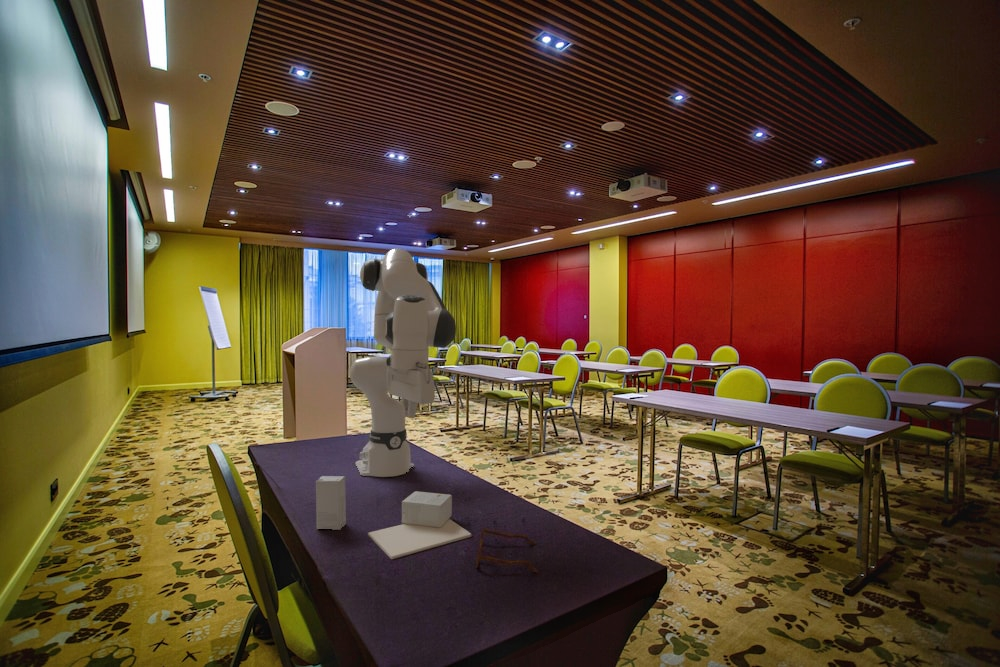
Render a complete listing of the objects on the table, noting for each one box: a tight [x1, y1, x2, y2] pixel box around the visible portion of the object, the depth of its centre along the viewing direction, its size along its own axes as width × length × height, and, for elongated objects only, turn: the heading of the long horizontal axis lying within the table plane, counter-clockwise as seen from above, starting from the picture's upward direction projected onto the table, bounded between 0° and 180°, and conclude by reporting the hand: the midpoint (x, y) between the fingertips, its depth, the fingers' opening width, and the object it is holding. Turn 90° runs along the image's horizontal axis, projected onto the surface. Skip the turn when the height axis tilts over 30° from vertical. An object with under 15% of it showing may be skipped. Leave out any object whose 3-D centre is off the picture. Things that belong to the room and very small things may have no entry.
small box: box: [401, 490, 453, 528], centre depth 120 cm, size 8×6×10 cm
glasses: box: [475, 526, 538, 572], centre depth 103 cm, size 13×13×5 cm
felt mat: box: [367, 518, 472, 560], centre depth 112 cm, size 14×20×1 cm
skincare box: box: [315, 475, 347, 531], centre depth 116 cm, size 6×4×12 cm
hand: (409, 417), depth 117 cm, fingers closed
